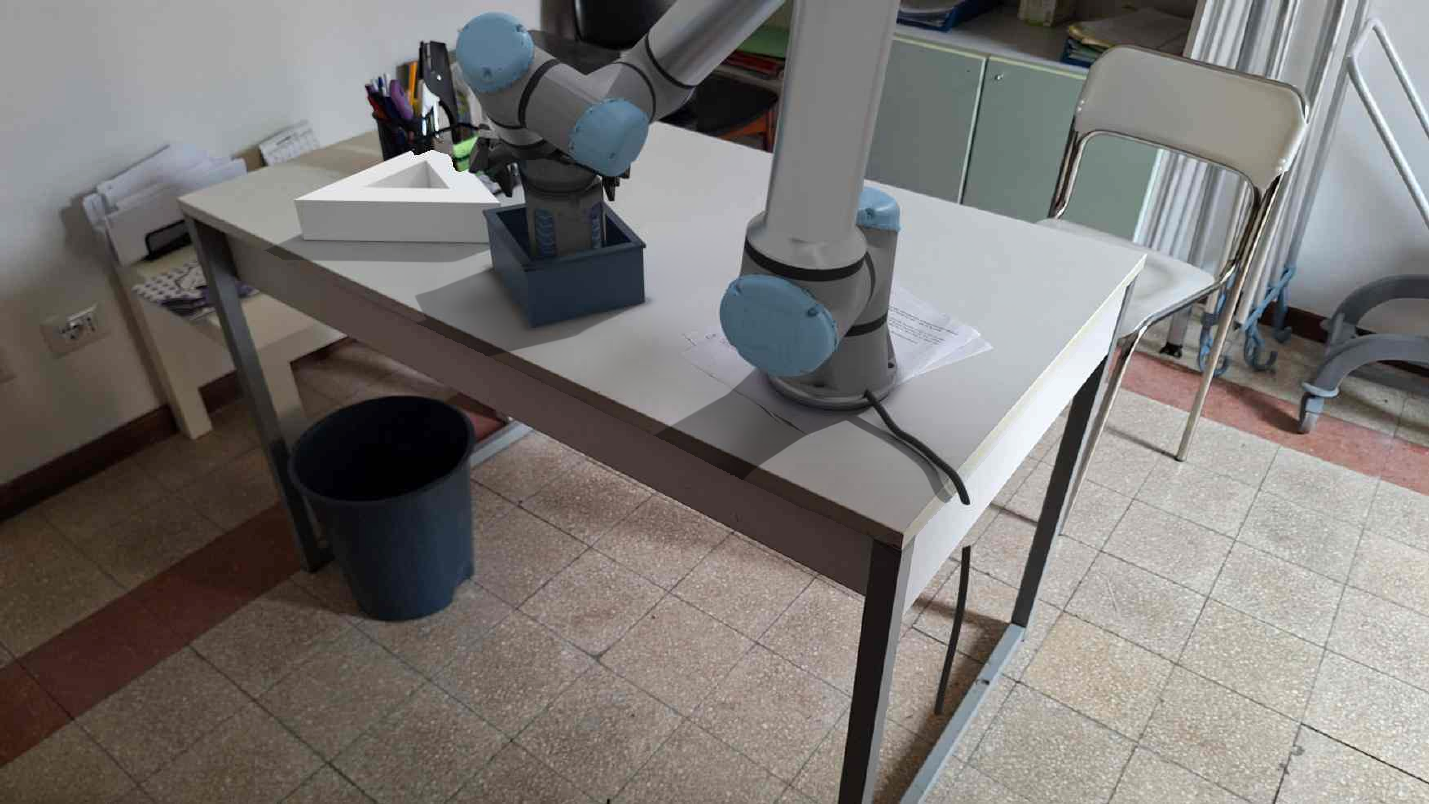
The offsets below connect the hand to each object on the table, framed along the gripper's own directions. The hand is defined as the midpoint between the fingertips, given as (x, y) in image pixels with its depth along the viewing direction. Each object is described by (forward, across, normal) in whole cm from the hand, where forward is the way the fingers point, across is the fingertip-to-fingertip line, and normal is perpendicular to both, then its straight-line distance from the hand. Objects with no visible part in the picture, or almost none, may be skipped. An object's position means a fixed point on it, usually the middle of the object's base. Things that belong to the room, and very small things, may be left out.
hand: (561, 189), depth 130 cm
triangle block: (+20, +23, -2) cm, 31 cm away
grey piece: (+8, 0, +11) cm, 13 cm away
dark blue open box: (+8, 0, +11) cm, 13 cm away
